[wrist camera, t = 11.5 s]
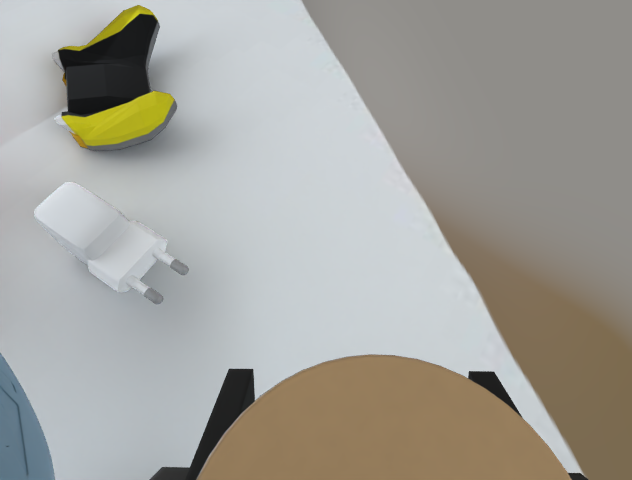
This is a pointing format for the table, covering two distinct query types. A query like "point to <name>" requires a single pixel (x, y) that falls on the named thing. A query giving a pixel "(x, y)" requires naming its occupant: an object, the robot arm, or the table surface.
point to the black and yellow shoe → (114, 85)
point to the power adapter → (104, 239)
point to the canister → (380, 428)
